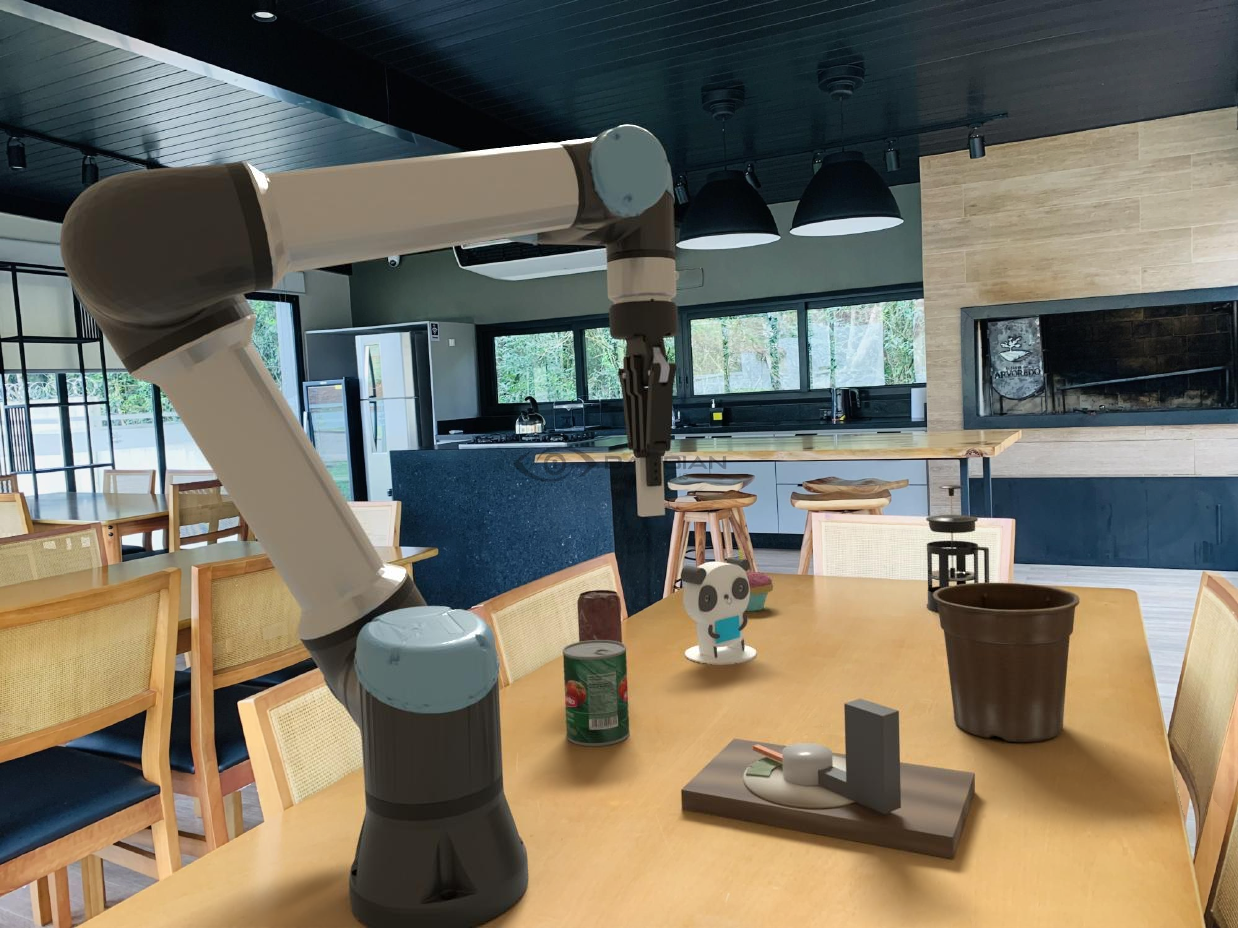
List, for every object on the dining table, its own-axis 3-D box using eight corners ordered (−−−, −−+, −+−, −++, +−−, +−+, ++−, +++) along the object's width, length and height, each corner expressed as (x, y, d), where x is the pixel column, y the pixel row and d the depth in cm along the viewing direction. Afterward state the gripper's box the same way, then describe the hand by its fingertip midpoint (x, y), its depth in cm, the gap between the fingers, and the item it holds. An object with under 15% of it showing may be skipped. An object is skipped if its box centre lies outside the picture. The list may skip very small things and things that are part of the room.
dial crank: (738, 758, 99) (735, 673, 99) (772, 746, 102) (770, 664, 101) (874, 819, 84) (872, 719, 83) (910, 804, 87) (908, 707, 86)
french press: (915, 609, 172) (912, 486, 170) (934, 600, 179) (932, 481, 178) (979, 617, 165) (977, 488, 163) (996, 606, 172) (995, 483, 170)
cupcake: (725, 612, 176) (723, 550, 175) (733, 602, 184) (731, 543, 184) (770, 613, 174) (768, 550, 173) (776, 603, 182) (774, 543, 181)
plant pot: (907, 715, 117) (905, 589, 116) (1008, 696, 123) (1006, 576, 122) (1002, 760, 102) (1000, 616, 101) (1112, 736, 108) (1111, 599, 107)
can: (621, 696, 129) (616, 597, 128) (577, 695, 131) (572, 597, 130) (629, 683, 135) (625, 588, 134) (587, 682, 137) (582, 588, 136)
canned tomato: (553, 735, 116) (549, 648, 115) (602, 719, 121) (599, 636, 120) (593, 752, 110) (589, 660, 109) (643, 734, 115) (639, 647, 114)
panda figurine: (714, 670, 140) (711, 572, 139) (667, 655, 149) (663, 563, 148) (771, 654, 147) (768, 561, 146) (722, 641, 156) (719, 553, 155)
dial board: (953, 859, 81) (952, 831, 81) (681, 808, 93) (680, 784, 93) (974, 791, 94) (974, 767, 94) (734, 755, 107) (734, 734, 106)
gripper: (696, 294, 97) (704, 519, 98) (655, 307, 109) (663, 506, 111) (628, 295, 94) (637, 524, 96) (594, 308, 107) (602, 511, 109)
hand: (651, 514), depth 103 cm, fingers closed
